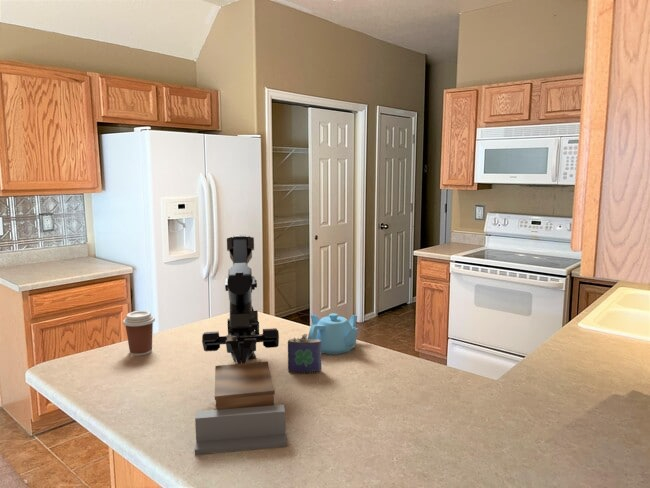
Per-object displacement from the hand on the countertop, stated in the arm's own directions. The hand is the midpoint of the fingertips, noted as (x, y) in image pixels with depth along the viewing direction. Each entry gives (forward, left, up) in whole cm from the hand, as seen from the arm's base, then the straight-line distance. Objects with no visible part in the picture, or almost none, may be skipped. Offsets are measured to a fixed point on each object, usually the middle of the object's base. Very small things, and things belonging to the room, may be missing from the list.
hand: (241, 372), depth 121 cm
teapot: (-25, +33, -7) cm, 42 cm away
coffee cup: (-41, -24, -7) cm, 48 cm away
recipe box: (+8, -1, -7) cm, 11 cm away
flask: (-10, +19, -7) cm, 23 cm away
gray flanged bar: (+20, -3, -7) cm, 21 cm away
